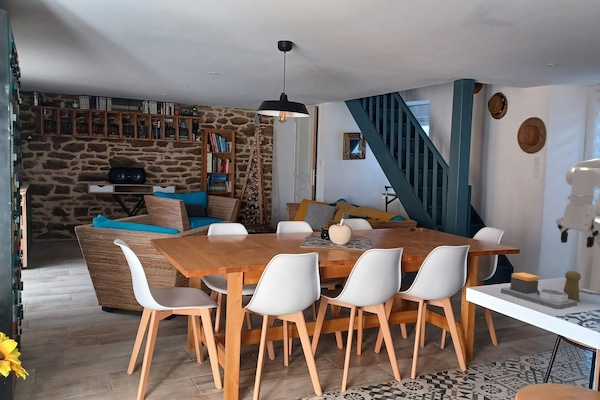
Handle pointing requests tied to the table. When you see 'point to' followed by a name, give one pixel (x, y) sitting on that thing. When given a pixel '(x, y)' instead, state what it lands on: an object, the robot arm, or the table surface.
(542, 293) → the ring
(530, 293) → the grey base plate
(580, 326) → the table surface
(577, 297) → the cork
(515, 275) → the button
